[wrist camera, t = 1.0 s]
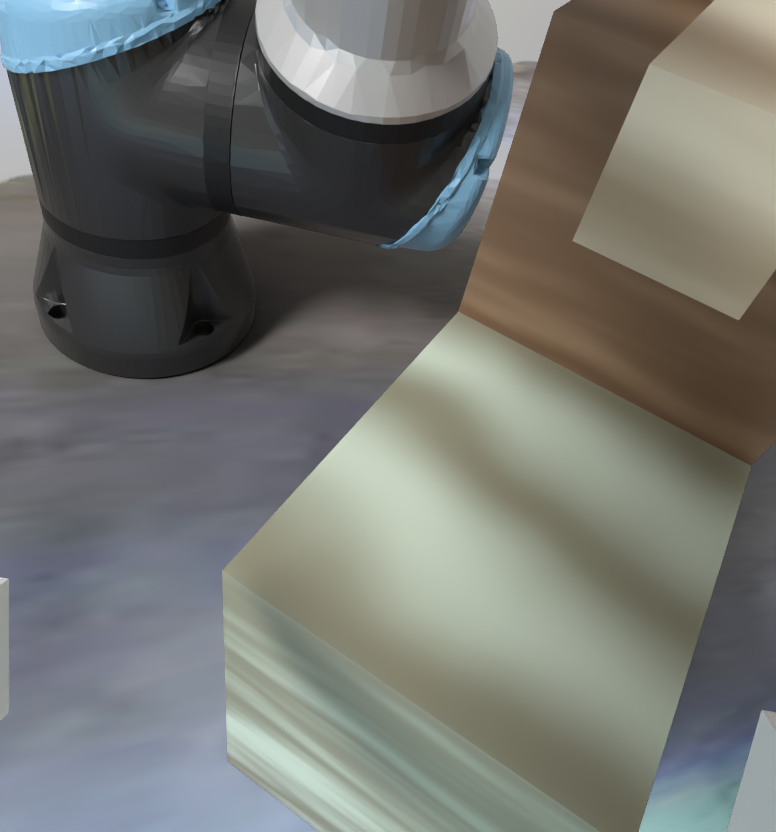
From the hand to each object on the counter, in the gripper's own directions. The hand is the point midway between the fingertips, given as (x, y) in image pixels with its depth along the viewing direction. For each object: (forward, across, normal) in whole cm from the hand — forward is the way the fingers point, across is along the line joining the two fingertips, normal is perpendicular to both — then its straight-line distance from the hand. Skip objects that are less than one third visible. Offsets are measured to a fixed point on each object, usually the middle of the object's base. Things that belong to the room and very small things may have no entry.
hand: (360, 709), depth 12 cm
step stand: (+27, +4, -12) cm, 29 cm away
